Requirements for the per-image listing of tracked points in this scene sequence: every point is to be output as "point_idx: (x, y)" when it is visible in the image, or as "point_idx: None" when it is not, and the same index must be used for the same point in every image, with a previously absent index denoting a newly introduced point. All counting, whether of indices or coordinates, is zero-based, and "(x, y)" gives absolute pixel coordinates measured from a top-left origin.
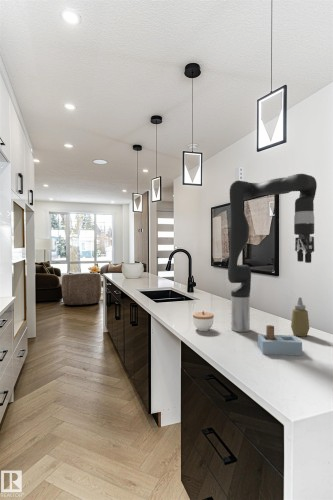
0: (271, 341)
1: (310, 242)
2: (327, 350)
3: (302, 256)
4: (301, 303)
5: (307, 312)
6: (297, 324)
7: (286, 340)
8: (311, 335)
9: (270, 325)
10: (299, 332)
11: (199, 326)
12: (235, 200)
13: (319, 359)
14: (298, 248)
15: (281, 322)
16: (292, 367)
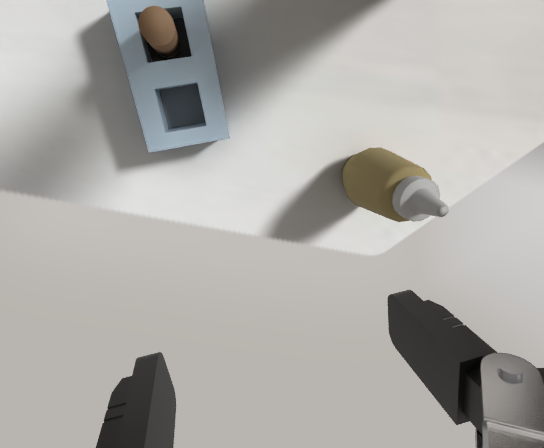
0: (119, 34)
1: None
2: (224, 227)
3: (423, 375)
4: (417, 208)
5: (392, 219)
6: (357, 169)
7: (154, 99)
8: None
9: (170, 28)
10: (344, 170)
11: None
12: None
13: (134, 191)
14: (486, 437)
15: (506, 130)
16: (25, 98)
